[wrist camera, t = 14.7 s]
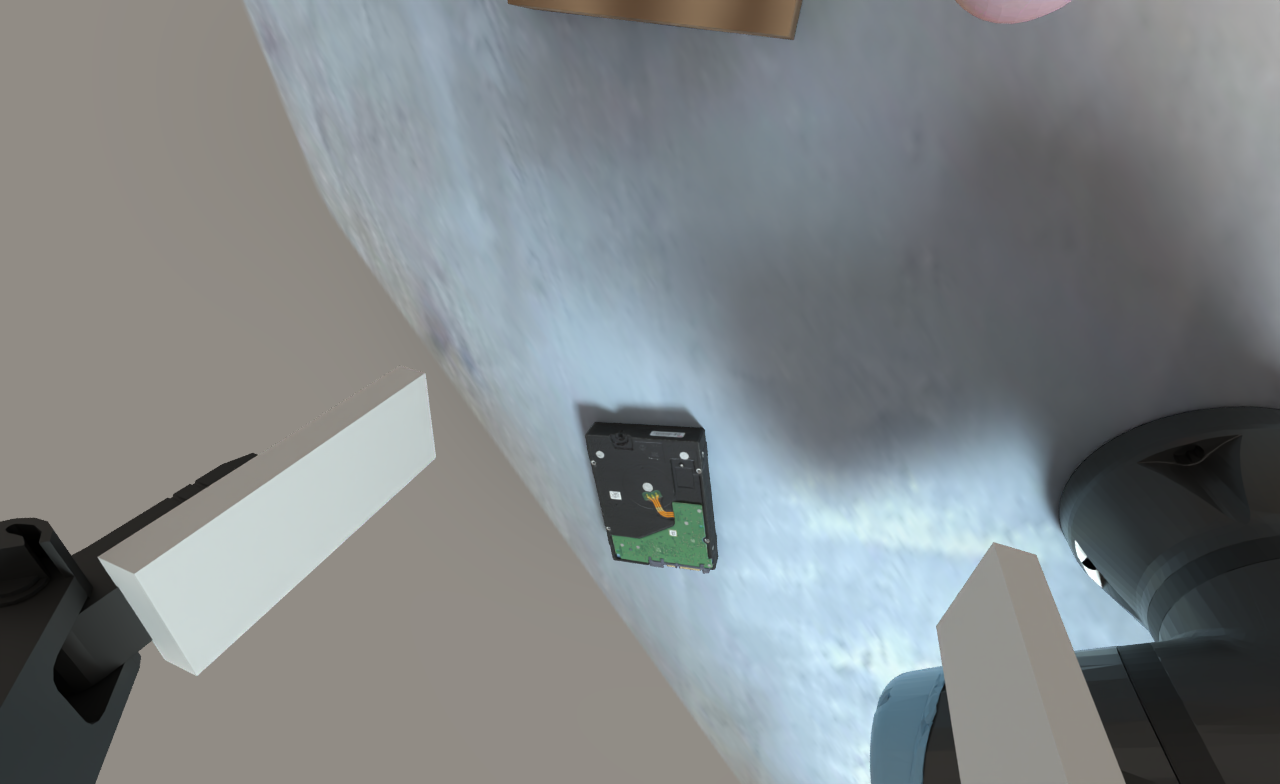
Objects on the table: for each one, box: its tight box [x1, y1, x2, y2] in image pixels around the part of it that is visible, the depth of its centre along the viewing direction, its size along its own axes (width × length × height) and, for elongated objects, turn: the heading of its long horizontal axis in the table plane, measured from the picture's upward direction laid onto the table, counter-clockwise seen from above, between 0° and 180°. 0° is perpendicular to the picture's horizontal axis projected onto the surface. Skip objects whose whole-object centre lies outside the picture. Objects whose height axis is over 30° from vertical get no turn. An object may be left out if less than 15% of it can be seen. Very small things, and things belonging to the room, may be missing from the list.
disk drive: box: [585, 422, 718, 574], centre depth 48 cm, size 10×3×15 cm
